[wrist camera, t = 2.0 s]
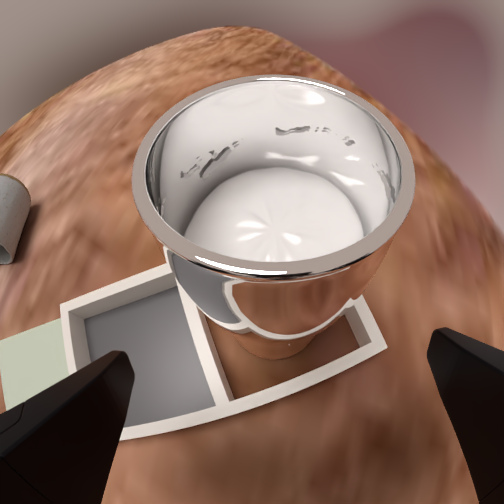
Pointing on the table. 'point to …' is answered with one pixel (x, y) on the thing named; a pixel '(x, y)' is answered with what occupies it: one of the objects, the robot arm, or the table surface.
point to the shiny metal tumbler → (273, 203)
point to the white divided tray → (154, 353)
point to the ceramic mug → (12, 215)
